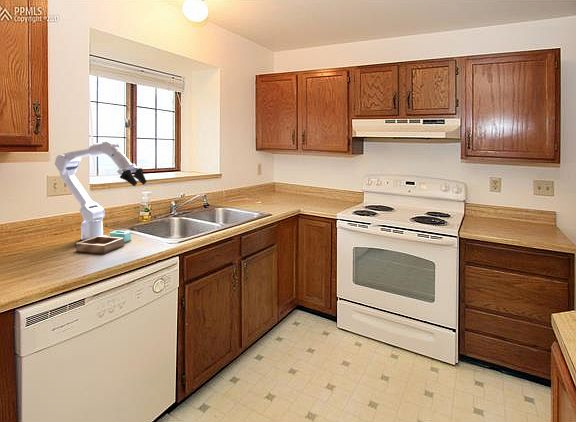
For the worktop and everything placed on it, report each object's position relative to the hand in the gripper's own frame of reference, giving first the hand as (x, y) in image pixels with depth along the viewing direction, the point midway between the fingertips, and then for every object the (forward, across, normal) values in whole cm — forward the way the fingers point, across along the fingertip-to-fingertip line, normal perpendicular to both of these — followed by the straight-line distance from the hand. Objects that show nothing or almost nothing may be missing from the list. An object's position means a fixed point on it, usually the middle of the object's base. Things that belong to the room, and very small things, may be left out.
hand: (140, 183), depth 181 cm
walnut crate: (+13, -15, +28) cm, 34 cm away
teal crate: (+13, -1, +28) cm, 31 cm away
